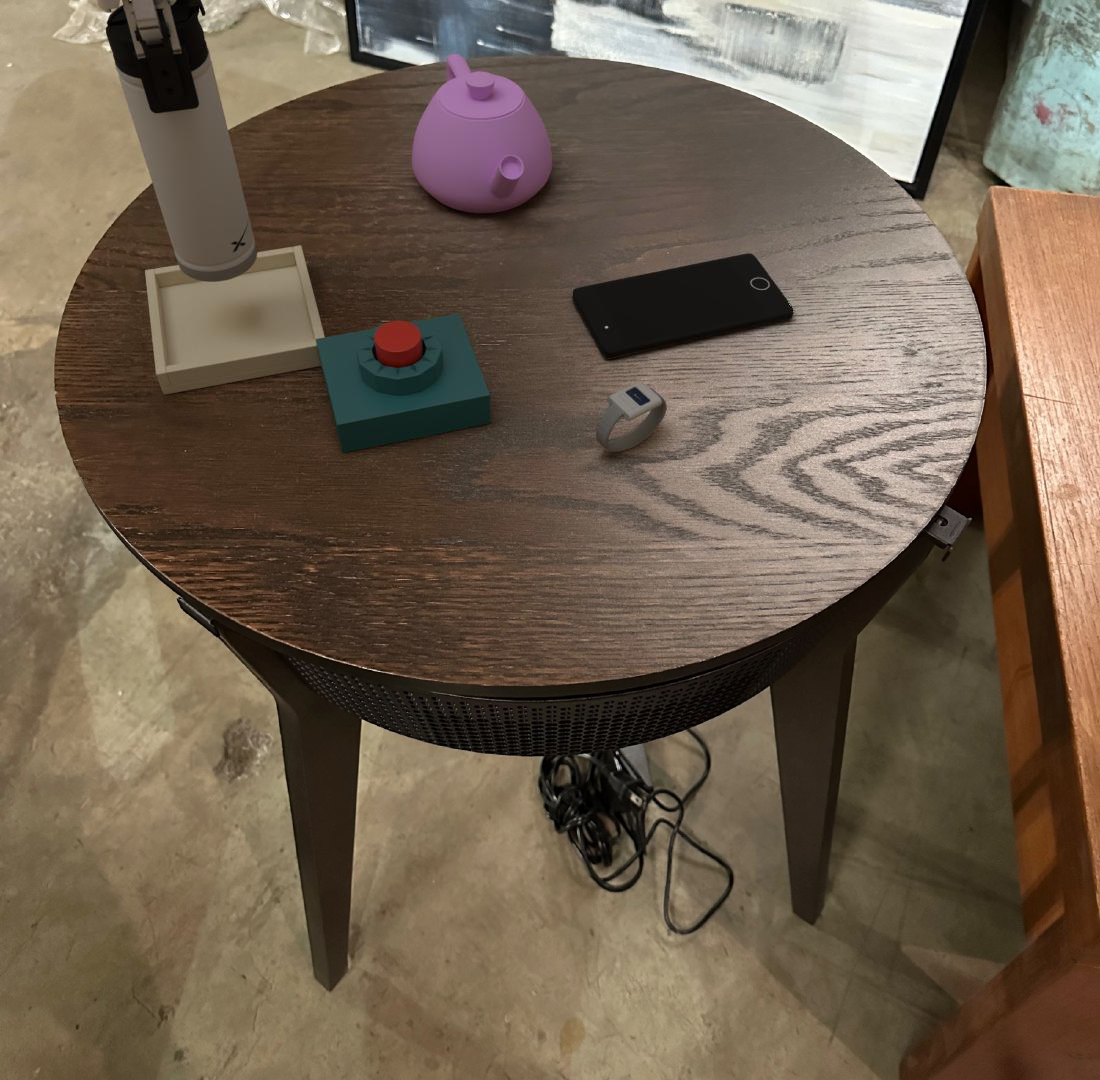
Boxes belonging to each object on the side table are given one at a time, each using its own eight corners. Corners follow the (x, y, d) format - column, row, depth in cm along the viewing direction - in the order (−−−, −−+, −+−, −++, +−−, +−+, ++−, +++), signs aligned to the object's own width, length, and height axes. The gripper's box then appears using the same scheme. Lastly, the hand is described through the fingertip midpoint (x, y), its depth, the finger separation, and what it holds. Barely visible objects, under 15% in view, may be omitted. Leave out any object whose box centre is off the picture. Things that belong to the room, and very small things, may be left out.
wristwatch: (609, 470, 80) (614, 425, 76) (587, 448, 81) (591, 403, 77) (669, 437, 82) (677, 391, 78) (647, 416, 84) (654, 371, 80)
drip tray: (163, 395, 84) (155, 374, 82) (152, 290, 91) (144, 269, 90) (330, 364, 86) (326, 343, 84) (305, 265, 94) (301, 244, 92)
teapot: (446, 256, 95) (439, 152, 87) (393, 141, 107) (382, 39, 98) (585, 230, 99) (591, 127, 90) (519, 121, 110) (519, 20, 101)
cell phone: (794, 319, 91) (796, 311, 90) (605, 361, 87) (605, 353, 86) (750, 259, 96) (752, 251, 95) (570, 296, 92) (570, 288, 91)
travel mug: (269, 272, 82) (210, 20, 66) (185, 290, 81) (105, 36, 65) (253, 228, 86) (193, -22, 70) (172, 244, 84) (93, -8, 68)
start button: (381, 372, 79) (379, 355, 78) (372, 341, 81) (370, 324, 80) (427, 363, 80) (425, 346, 79) (417, 333, 82) (415, 316, 81)
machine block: (342, 453, 80) (333, 407, 76) (321, 367, 86) (312, 321, 82) (491, 423, 83) (489, 377, 79) (460, 342, 88) (458, 296, 84)
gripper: (15, -272, 61) (109, 29, 76) (13, -166, 51) (122, 158, 66) (145, -279, 63) (213, 17, 77) (167, -178, 53) (241, 142, 67)
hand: (170, 80), depth 71 cm, fingers closed on travel mug, 6 cm apart
